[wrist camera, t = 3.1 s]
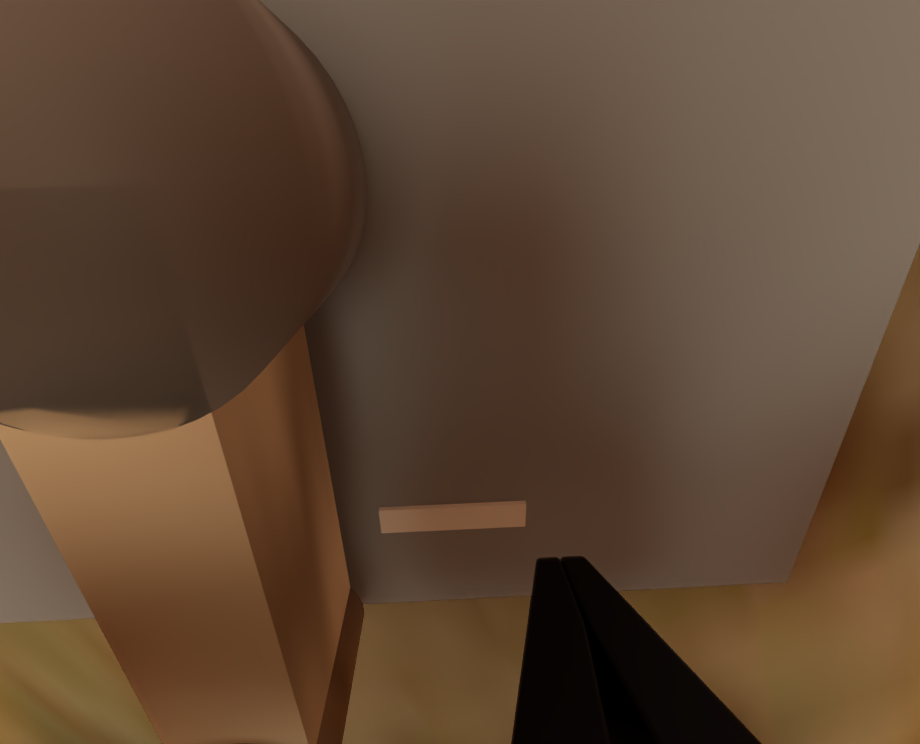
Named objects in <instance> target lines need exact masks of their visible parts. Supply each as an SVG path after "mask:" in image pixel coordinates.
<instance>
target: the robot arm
mask: <svg viewBox="0 0 920 744" xmlns="http://www.w3.org/2000/svg"><path fill="white" fill-rule="evenodd" d="M511 744H761V743H760V742H759V740H758V739H757V738H756V737H755V736H754V735H753V734H752V733H751V732H750V731H749V730H748V729H747V728H746V727H745V726H744V725H743V724H742V723H741V721H740V720H739V719H738V718H737V717H736V716H735V715H734V714H733V713H732V712H731V711H730V710H729V709H728V708H727V707H726V706H725V705H724V704H723V702H722V701H721V700H720V699H719V698H718V697H717V696H716V695H715V694H714V693H713V692H712V691H711V690H710V689H709V688H708V687H707V686H706V684H705V683H704V682H703V681H702V680H701V679H700V678H699V677H698V676H697V675H696V674H695V673H694V672H693V671H692V670H691V669H690V668H689V667H688V665H687V664H686V663H685V662H684V661H683V660H682V659H681V658H680V657H679V656H678V655H677V654H676V653H675V652H674V651H673V650H672V649H671V648H670V646H669V645H668V644H667V643H666V642H665V641H664V640H663V639H662V638H661V637H660V636H659V635H658V634H657V633H656V632H655V631H654V630H653V629H652V627H651V626H650V625H649V624H648V623H647V622H646V621H645V620H644V619H643V618H642V617H641V616H640V615H639V614H638V613H637V612H636V611H635V609H634V608H633V607H632V606H631V605H630V604H629V603H628V602H627V601H626V600H625V599H624V598H623V597H622V596H621V595H620V594H619V593H618V592H617V590H616V589H615V588H614V587H613V586H612V585H611V584H610V583H609V582H608V581H607V580H606V579H605V578H604V577H603V576H602V575H601V574H600V573H599V571H598V570H597V569H596V568H595V567H594V566H593V565H592V564H591V563H590V562H589V561H588V560H587V559H586V558H585V557H583V556H564V557H562V558H560V559H559V558H558V557H542V558H538V559H537V560H536V564H535V572H534V579H533V587H532V594H531V601H530V609H529V616H528V624H527V631H526V638H525V646H524V653H523V661H522V668H521V675H520V683H519V690H518V697H517V705H516V712H515V720H514V727H513V734H512V742H511Z"/></svg>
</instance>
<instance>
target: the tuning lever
mask: <svg viewBox="0 0 920 744" xmlns="http://www.w3.org/2000/svg"><path fill="white" fill-rule="evenodd" d="M366 206H367V181H366V171H365V164H364V158H363V152H362V148H361V145H360V141H359V138H358V134H357V131H356V128H355V125H354V123H353V120H352V118H351V115H350V113H349V110H348V108H347V106H346V103H345V102H344V100H343V98H342V96H341V94H340V92H339V91H338V89H337V87H336V85H335V83H334V81H333V80H332V78H331V77H330V76H329V74H328V73H327V71H326V70H325V68H324V67H323V66H322V64H321V63H320V61H319V60H318V58H317V57H316V56H315V55H314V54H313V53H312V51H311V50H310V49H309V48H308V47H307V46H306V45H305V44H304V42H303V41H302V40H301V39H300V38H299V37H298V36H297V35H296V34H295V33H294V32H293V31H292V30H291V29H290V28H289V27H287V26H286V25H285V24H284V23H283V22H282V21H281V20H280V19H279V18H278V17H277V16H276V15H275V14H274V13H272V12H271V11H270V10H269V9H268V8H267V7H266V6H265V5H264V4H263V3H262V2H261V1H260V0H0V440H1V442H2V444H3V446H4V447H5V449H6V451H7V453H8V455H9V457H10V459H11V461H12V462H13V464H14V466H15V468H16V470H17V472H18V474H19V476H20V477H21V479H22V481H23V483H24V485H25V487H26V489H27V491H28V493H29V494H30V496H31V498H32V500H33V502H34V504H35V506H36V508H37V509H38V511H39V513H40V515H41V517H42V519H43V521H44V523H45V524H46V526H47V528H48V530H49V532H50V534H51V536H52V538H53V539H54V541H55V543H56V545H57V547H58V549H59V551H60V553H61V555H62V556H63V558H64V560H65V562H66V564H67V566H68V568H69V570H70V571H71V573H72V575H73V577H74V579H75V581H76V583H77V585H78V586H79V588H80V590H81V592H82V594H83V596H84V598H85V600H86V601H87V603H88V605H89V607H90V609H91V611H92V613H93V615H94V617H95V618H96V620H97V622H98V624H99V626H100V628H101V630H102V632H103V633H104V635H105V637H106V639H107V641H108V643H109V645H110V647H111V648H112V650H113V652H114V654H115V656H116V658H117V660H118V662H119V663H120V665H121V667H122V669H123V671H124V673H125V675H126V677H127V679H128V680H129V682H130V684H131V686H132V688H133V690H134V692H135V694H136V695H137V697H138V699H139V701H140V703H141V705H142V707H143V709H144V710H145V712H146V714H147V716H148V718H149V720H150V722H151V724H152V725H153V727H154V729H155V731H156V733H157V735H158V737H159V739H160V741H161V742H162V744H342V739H343V734H344V728H345V722H346V716H347V710H348V704H349V699H350V693H351V687H352V681H353V675H354V670H355V664H356V658H357V652H358V646H359V640H360V635H361V629H362V623H363V617H364V608H363V604H362V602H361V600H360V598H359V596H358V595H357V593H356V592H355V591H354V590H353V589H352V588H351V587H350V582H349V577H348V571H347V566H346V560H345V554H344V549H343V543H342V537H341V532H340V526H339V520H338V515H337V509H336V504H335V498H334V492H333V487H332V481H331V475H330V470H329V464H328V459H327V453H326V447H325V442H324V436H323V430H322V425H321V419H320V413H319V408H318V402H317V397H316V391H315V385H314V380H313V374H312V368H311V363H310V357H309V352H308V346H307V340H306V335H305V329H304V324H305V322H306V321H307V320H308V319H309V318H310V317H311V316H312V314H313V313H314V312H315V311H316V310H317V309H318V308H319V307H320V305H321V304H322V303H323V302H324V301H325V300H326V299H327V297H328V296H329V295H330V294H331V293H332V292H333V291H334V289H335V288H336V287H337V285H338V284H339V283H340V281H341V280H342V279H343V277H344V276H345V274H346V273H347V271H348V269H349V267H350V265H351V263H352V261H353V259H354V257H355V255H356V252H357V249H358V246H359V244H360V241H361V237H362V233H363V228H364V223H365V218H366Z"/></svg>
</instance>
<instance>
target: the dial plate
mask: <svg viewBox="0 0 920 744" xmlns="http://www.w3.org/2000/svg"><path fill="white" fill-rule="evenodd" d="M260 1H261V2H262V3H263V4H264V5H265V6H266V7H267V8H268V9H269V10H270V11H271V12H272V13H274V14H275V15H276V16H277V17H278V18H279V19H280V20H281V21H282V22H283V23H284V24H285V25H286V26H287V27H289V28H290V29H291V30H292V31H293V32H294V33H295V34H296V35H297V36H298V37H299V38H300V39H301V40H302V41H303V42H304V44H305V45H306V46H307V47H308V48H309V49H310V50H311V51H312V53H313V54H314V55H315V56H316V57H317V58H318V60H319V61H320V63H321V64H322V66H323V67H324V68H325V70H326V71H327V73H328V74H329V76H330V77H331V78H332V80H333V81H334V83H335V85H336V87H337V89H338V91H339V92H340V94H341V96H342V98H343V100H344V102H345V103H346V106H347V108H348V110H349V113H350V115H351V118H352V120H353V123H354V125H355V128H356V131H357V134H358V138H359V141H360V145H361V148H362V152H363V158H364V164H365V171H366V181H367V206H366V218H365V223H364V228H363V233H362V237H361V241H360V244H359V246H358V249H357V252H356V255H355V257H354V259H353V261H352V263H351V265H350V267H349V269H348V271H347V273H346V274H345V276H344V277H343V279H342V280H341V281H340V283H339V284H338V285H337V287H336V288H335V289H334V291H333V292H332V293H331V294H330V295H329V296H328V297H327V299H326V300H325V301H324V302H323V303H322V304H321V305H320V307H319V308H318V309H317V310H316V311H315V312H314V313H313V314H312V316H311V317H310V318H309V319H308V320H307V321H306V322H305V324H304V329H305V335H306V340H307V346H308V352H309V357H310V363H311V368H312V374H313V380H314V385H315V391H316V397H317V402H318V408H319V413H320V419H321V425H322V430H323V436H324V442H325V447H326V453H327V459H328V464H329V470H330V475H331V481H332V487H333V492H334V498H335V504H336V509H337V515H338V520H339V526H340V532H341V537H342V543H343V549H344V554H345V560H346V566H347V571H348V577H349V582H350V587H351V588H352V589H353V590H354V591H355V592H356V593H357V595H358V596H359V598H360V600H361V602H362V604H378V603H397V602H417V601H436V600H455V599H474V598H493V597H513V596H531V594H532V587H533V579H534V572H535V564H536V560H537V559H538V558H542V557H558V558H559V559H560V558H562V557H564V556H583V557H585V558H586V559H587V560H588V561H589V562H590V563H591V564H592V565H593V566H594V567H595V568H596V569H597V570H598V571H599V573H600V574H601V575H602V576H603V577H604V578H605V579H606V580H607V581H608V582H609V583H610V584H611V585H612V586H613V587H614V588H615V589H616V590H617V591H628V590H647V589H666V588H685V587H705V586H724V585H743V584H762V583H781V582H787V581H788V579H789V576H790V574H791V571H792V569H793V566H794V564H795V561H796V558H797V556H798V553H799V551H800V548H801V546H802V543H803V541H804V538H805V535H806V533H807V530H808V528H809V525H810V523H811V520H812V518H813V515H814V512H815V510H816V507H817V505H818V502H819V500H820V497H821V494H822V492H823V489H824V487H825V484H826V482H827V479H828V477H829V474H830V471H831V469H832V466H833V464H834V461H835V459H836V456H837V454H838V451H839V448H840V446H841V443H842V441H843V438H844V436H845V433H846V431H847V428H848V425H849V423H850V420H851V418H852V415H853V413H854V410H855V407H856V405H857V402H858V400H859V397H860V395H861V392H862V390H863V387H864V384H865V382H866V379H867V377H868V374H869V372H870V369H871V367H872V364H873V361H874V359H875V356H876V354H877V351H878V349H879V346H880V344H881V341H882V338H883V336H884V333H885V331H886V328H887V326H888V323H889V320H890V318H891V315H892V313H893V310H894V308H895V305H896V303H897V300H898V297H899V295H900V292H901V290H902V287H903V285H904V282H905V280H906V277H907V274H908V272H909V269H910V267H911V264H912V262H913V259H914V257H915V254H916V251H917V249H918V246H919V244H920V0H260ZM90 618H95V617H94V615H93V613H92V611H91V609H90V607H89V605H88V603H87V601H86V600H85V598H84V596H83V594H82V592H81V590H80V588H79V586H78V585H77V583H76V581H75V579H74V577H73V575H72V573H71V571H70V570H69V568H68V566H67V564H66V562H65V560H64V558H63V556H62V555H61V553H60V551H59V549H58V547H57V545H56V543H55V541H54V539H53V538H52V536H51V534H50V532H49V530H48V528H47V526H46V524H45V523H44V521H43V519H42V517H41V515H40V513H39V511H38V509H37V508H36V506H35V504H34V502H33V500H32V498H31V496H30V494H29V493H28V491H27V489H26V487H25V485H24V483H23V481H22V479H21V477H20V476H19V474H18V472H17V470H16V468H15V466H14V464H13V462H12V461H11V459H10V457H9V455H8V453H7V451H6V449H5V447H4V446H3V444H2V442H1V440H0V623H13V622H33V621H52V620H71V619H90Z"/></svg>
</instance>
